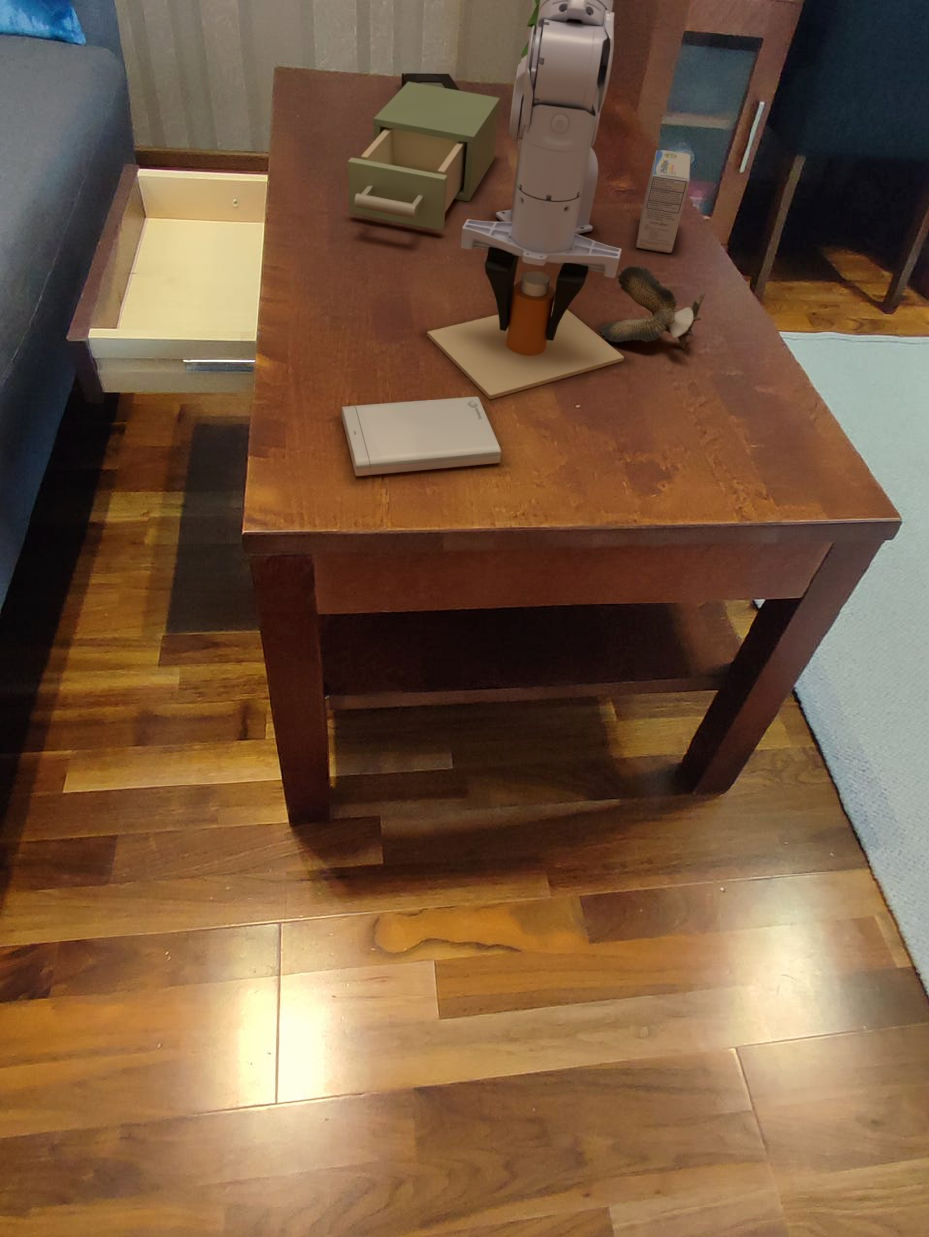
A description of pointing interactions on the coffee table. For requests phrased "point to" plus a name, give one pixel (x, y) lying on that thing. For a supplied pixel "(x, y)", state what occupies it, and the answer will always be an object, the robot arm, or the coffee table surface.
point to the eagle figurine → (658, 302)
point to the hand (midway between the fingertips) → (527, 330)
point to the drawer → (407, 178)
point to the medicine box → (664, 201)
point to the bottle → (530, 314)
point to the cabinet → (447, 124)
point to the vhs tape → (430, 80)
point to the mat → (505, 371)
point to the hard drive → (419, 435)
